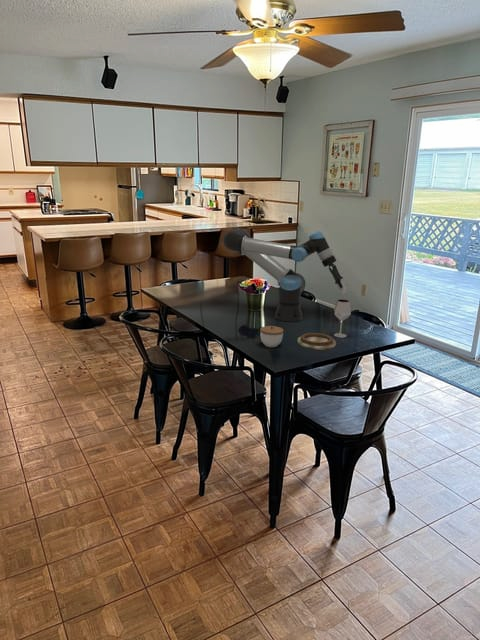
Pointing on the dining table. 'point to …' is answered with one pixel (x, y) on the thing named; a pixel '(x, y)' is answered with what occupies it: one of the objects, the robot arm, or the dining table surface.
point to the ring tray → (316, 341)
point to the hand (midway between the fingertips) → (344, 291)
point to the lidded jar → (271, 335)
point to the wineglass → (342, 314)
